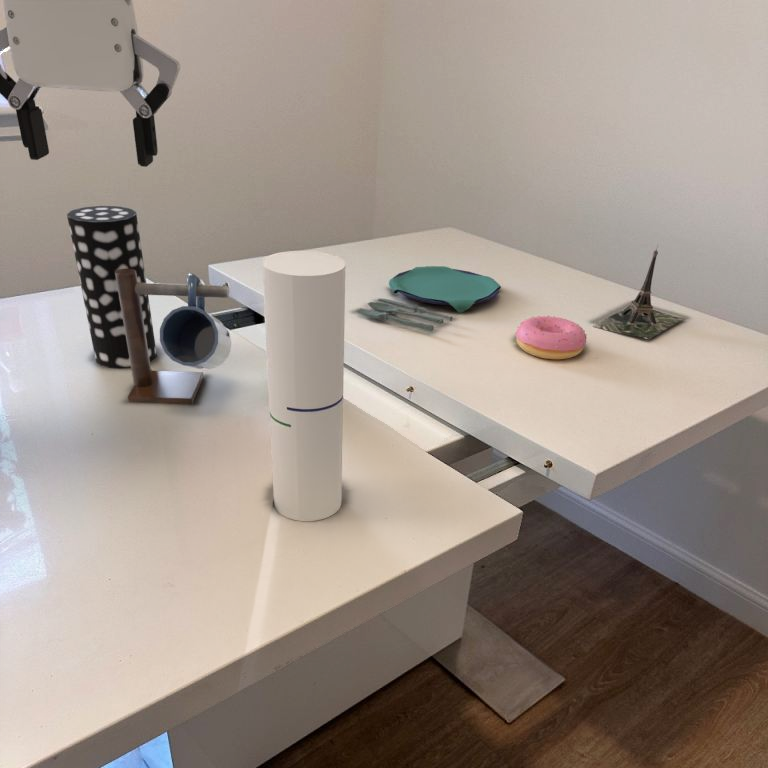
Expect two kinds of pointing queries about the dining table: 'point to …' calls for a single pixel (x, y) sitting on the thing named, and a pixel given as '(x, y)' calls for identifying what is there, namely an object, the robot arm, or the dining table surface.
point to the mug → (195, 333)
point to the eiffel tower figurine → (640, 314)
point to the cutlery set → (434, 293)
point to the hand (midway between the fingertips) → (93, 160)
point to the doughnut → (551, 337)
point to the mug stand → (146, 381)
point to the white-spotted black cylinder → (108, 277)
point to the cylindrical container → (305, 380)
